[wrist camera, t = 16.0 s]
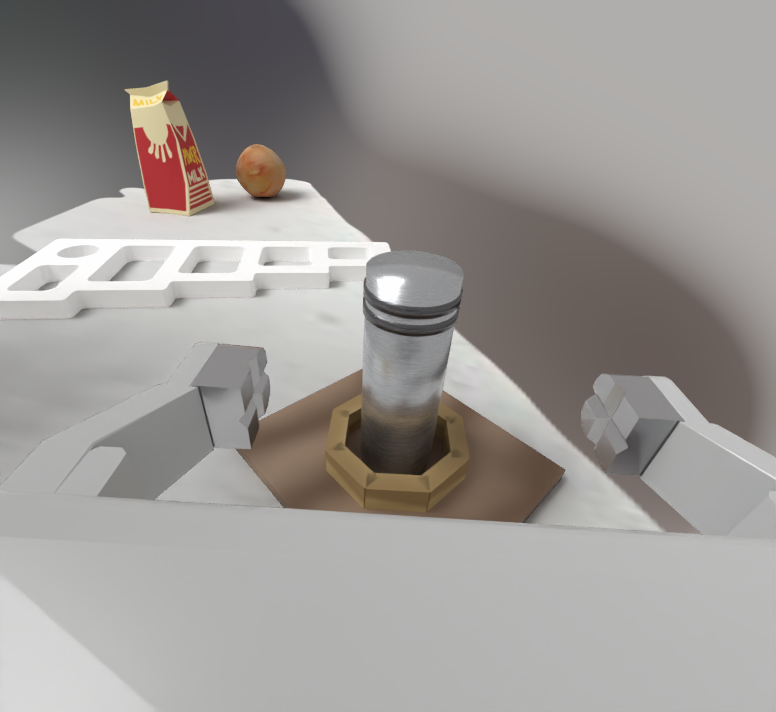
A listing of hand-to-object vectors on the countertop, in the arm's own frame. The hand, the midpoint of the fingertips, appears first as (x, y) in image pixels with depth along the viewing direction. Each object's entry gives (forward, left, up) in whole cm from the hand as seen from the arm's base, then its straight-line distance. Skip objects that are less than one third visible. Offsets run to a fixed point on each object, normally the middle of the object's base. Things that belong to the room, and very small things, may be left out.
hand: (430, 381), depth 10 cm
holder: (-43, +12, -18) cm, 49 cm away
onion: (-77, +37, -17) cm, 87 cm away
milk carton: (-78, +20, -17) cm, 83 cm away
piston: (-8, +8, -16) cm, 20 cm away
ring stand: (-8, +8, -17) cm, 21 cm away
